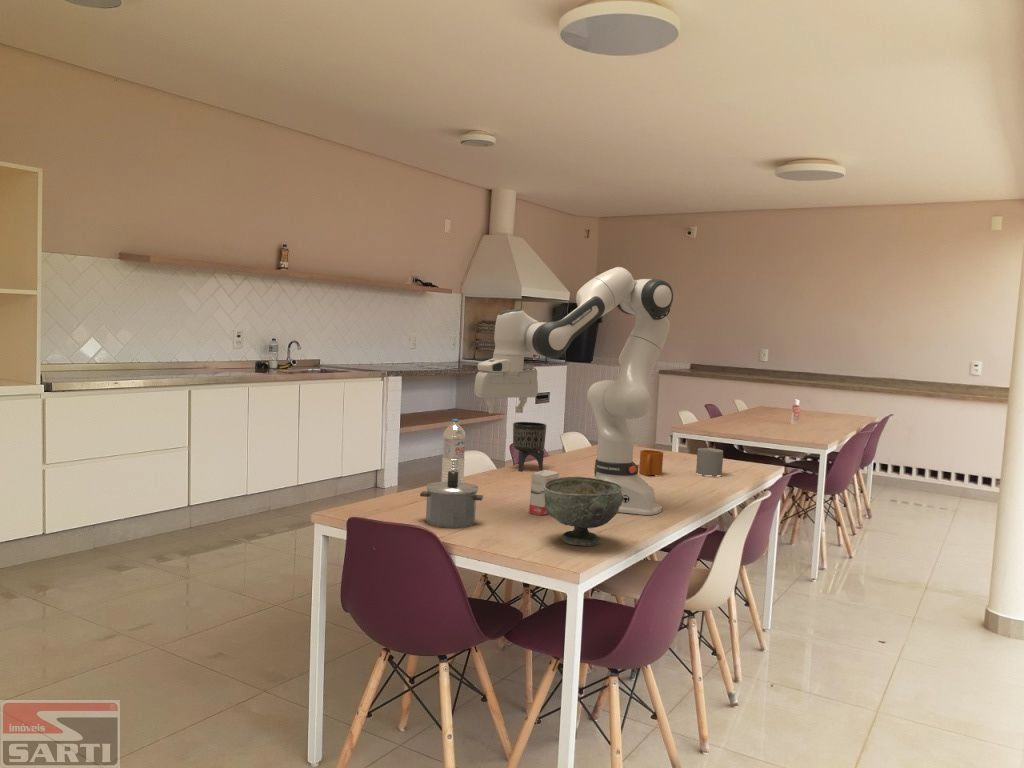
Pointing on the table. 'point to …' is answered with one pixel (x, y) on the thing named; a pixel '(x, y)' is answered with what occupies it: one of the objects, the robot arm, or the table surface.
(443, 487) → the lid
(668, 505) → the table surface
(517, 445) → the planter
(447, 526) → the pot
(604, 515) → the bowl
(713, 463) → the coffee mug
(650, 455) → the mug
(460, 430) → the water bottle
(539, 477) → the ink box
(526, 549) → the table surface
